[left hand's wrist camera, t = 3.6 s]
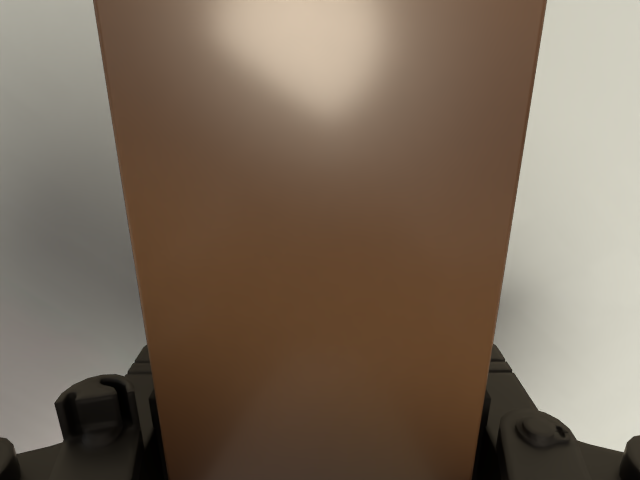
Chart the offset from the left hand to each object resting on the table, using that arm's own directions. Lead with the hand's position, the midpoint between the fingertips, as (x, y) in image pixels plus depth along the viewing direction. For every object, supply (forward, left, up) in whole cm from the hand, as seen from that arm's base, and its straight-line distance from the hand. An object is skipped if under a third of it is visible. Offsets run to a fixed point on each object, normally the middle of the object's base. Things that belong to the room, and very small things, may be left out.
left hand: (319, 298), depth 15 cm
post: (-4, +34, -1) cm, 34 cm away
